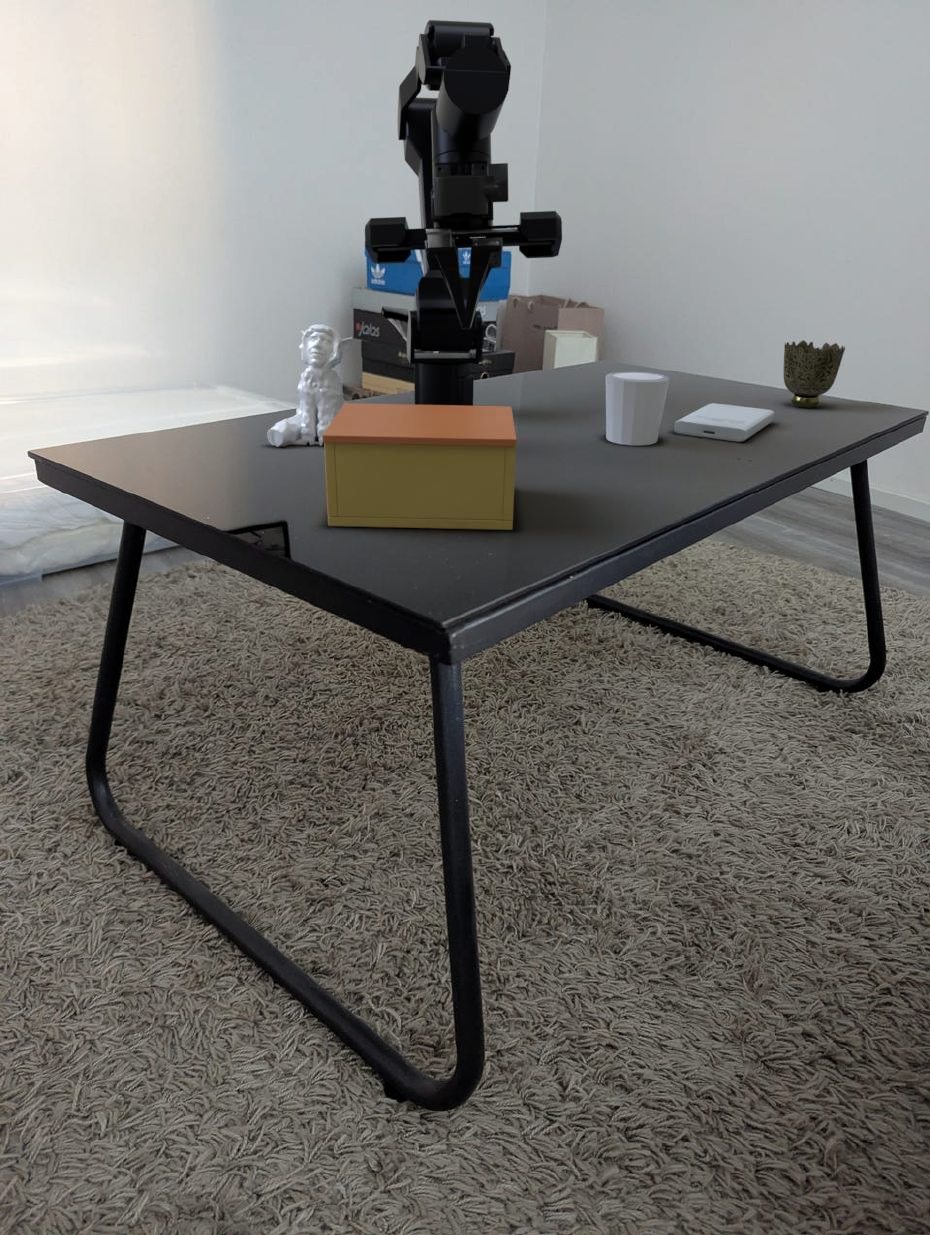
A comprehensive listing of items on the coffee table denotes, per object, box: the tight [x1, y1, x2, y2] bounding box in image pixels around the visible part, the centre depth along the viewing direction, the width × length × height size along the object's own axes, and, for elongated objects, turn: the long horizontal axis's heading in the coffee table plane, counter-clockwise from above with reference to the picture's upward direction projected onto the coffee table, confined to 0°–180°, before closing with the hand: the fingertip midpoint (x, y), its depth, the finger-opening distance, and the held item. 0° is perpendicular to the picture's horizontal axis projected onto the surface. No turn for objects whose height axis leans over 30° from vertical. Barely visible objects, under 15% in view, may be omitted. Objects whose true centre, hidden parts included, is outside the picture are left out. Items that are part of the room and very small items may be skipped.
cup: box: [783, 339, 846, 409], centre depth 118 cm, size 8×7×8 cm
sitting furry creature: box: [266, 323, 354, 448], centre depth 95 cm, size 10×9×12 cm
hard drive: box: [673, 402, 775, 443], centre depth 106 cm, size 2×8×12 cm
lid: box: [322, 402, 518, 448], centre depth 73 cm, size 12×15×1 cm
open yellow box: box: [323, 443, 517, 531], centre depth 75 cm, size 12×15×7 cm
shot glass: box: [605, 370, 671, 446], centre depth 99 cm, size 7×7×7 cm
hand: (466, 328), depth 88 cm, fingers closed
